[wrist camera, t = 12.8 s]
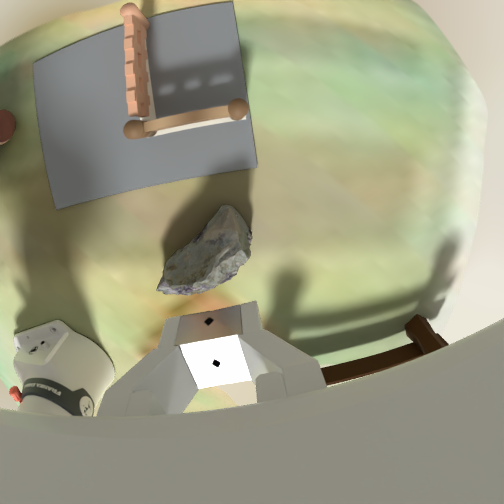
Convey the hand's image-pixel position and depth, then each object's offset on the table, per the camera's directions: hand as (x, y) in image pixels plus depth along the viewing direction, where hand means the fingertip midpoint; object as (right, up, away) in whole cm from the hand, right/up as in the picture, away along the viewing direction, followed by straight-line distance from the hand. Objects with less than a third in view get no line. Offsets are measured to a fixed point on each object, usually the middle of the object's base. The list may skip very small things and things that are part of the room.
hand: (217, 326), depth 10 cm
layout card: (-14, +21, +22) cm, 33 cm away
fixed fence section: (-6, +18, +23) cm, 30 cm away
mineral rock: (-5, +3, +30) cm, 31 cm away
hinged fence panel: (-12, +24, +20) cm, 33 cm away
